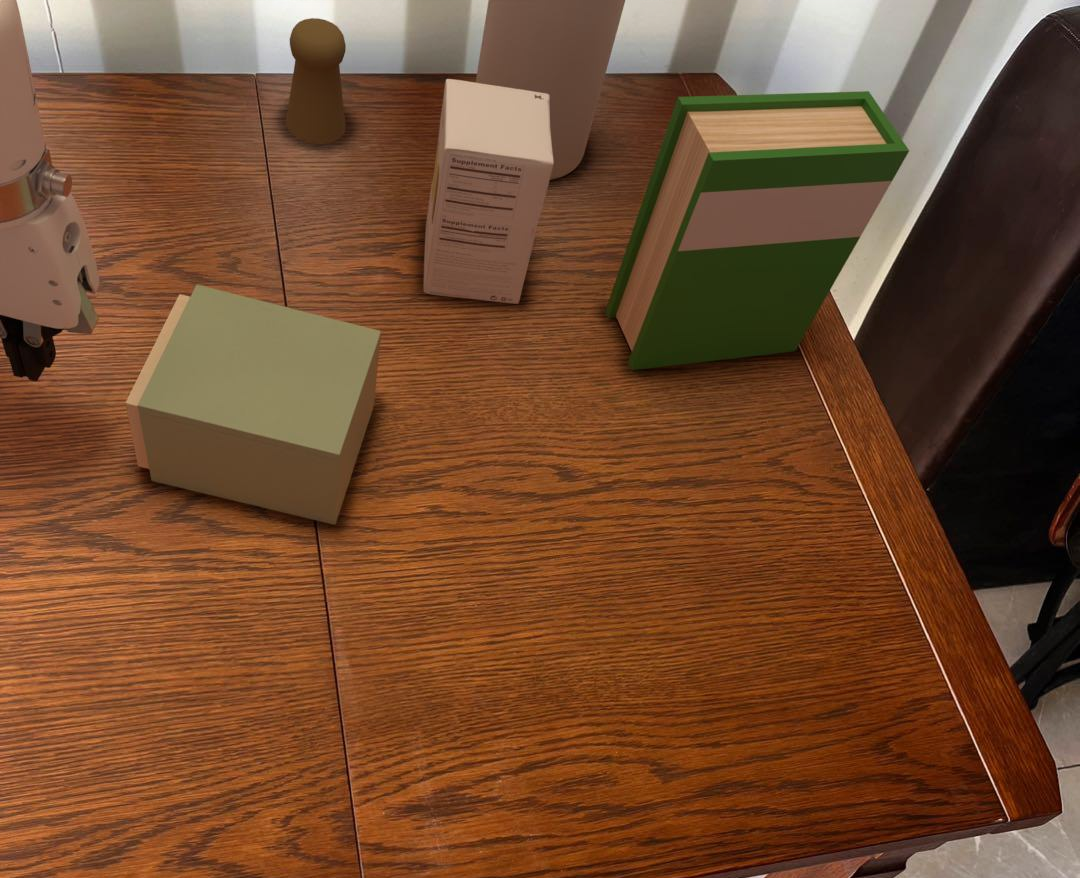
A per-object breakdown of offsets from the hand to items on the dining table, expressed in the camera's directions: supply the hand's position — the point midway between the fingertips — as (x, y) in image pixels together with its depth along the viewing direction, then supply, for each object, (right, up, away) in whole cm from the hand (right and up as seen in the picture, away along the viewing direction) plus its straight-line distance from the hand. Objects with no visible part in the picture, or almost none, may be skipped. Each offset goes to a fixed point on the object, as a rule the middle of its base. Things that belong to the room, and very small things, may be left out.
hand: (34, 364), depth 81 cm
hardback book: (+53, +7, +25) cm, 59 cm away
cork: (+15, +29, +30) cm, 44 cm away
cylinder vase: (+36, +29, +35) cm, 58 cm away
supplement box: (+31, +13, +24) cm, 41 cm away
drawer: (+13, -4, +7) cm, 16 cm away
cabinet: (+15, -5, +8) cm, 18 cm away
